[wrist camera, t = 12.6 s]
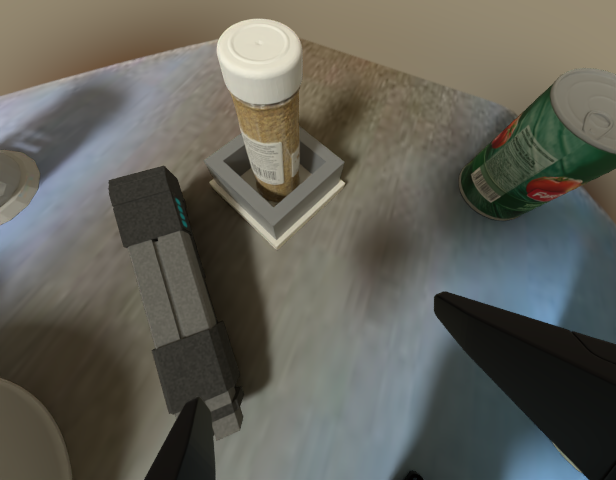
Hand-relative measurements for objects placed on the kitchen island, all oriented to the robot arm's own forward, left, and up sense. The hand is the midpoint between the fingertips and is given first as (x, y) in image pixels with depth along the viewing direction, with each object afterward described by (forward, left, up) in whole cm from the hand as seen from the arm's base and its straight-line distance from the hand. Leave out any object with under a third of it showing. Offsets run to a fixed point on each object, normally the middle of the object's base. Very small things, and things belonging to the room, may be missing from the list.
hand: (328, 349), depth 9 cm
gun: (+10, +5, -14) cm, 18 cm away
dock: (+13, -8, -14) cm, 20 cm away
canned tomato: (-4, -25, -14) cm, 29 cm away
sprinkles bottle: (+13, -8, -13) cm, 20 cm away
